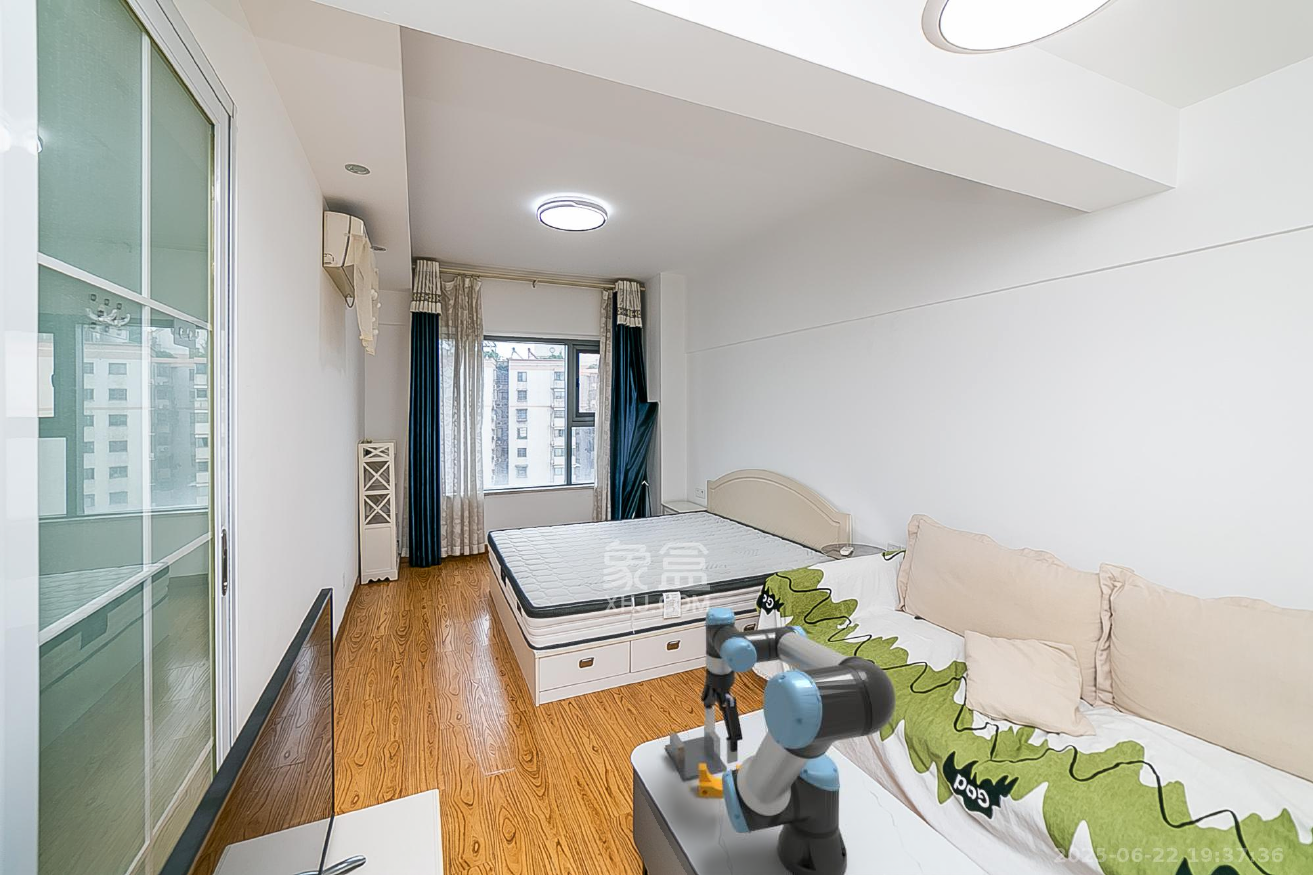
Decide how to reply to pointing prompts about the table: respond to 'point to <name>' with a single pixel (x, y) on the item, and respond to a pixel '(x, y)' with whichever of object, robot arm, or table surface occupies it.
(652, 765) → the table surface
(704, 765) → the orange angled block
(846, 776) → the table surface
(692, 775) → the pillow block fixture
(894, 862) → the table surface
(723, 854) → the table surface
